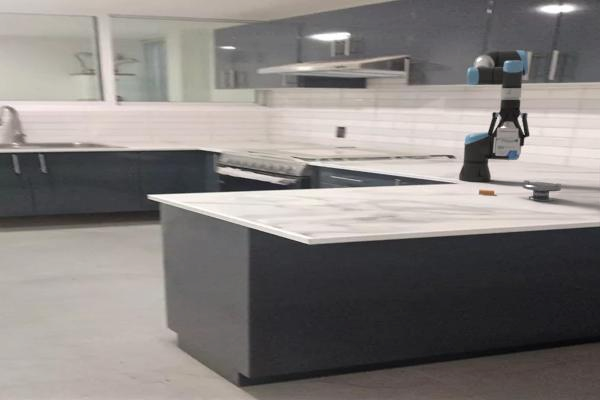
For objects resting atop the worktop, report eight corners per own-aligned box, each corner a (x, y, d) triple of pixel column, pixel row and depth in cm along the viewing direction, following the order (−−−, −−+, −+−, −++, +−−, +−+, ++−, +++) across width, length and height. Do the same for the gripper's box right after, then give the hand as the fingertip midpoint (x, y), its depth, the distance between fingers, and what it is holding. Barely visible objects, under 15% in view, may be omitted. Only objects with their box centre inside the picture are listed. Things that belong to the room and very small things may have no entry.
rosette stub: (517, 199, 216) (518, 182, 215) (527, 194, 227) (529, 178, 225) (554, 204, 207) (556, 186, 206) (563, 198, 218) (565, 181, 217)
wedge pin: (478, 195, 228) (479, 190, 227) (479, 194, 230) (479, 189, 230) (493, 196, 225) (494, 191, 225) (494, 195, 228) (494, 190, 227)
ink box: (517, 155, 226) (519, 127, 224) (516, 156, 222) (519, 128, 220) (496, 154, 230) (498, 127, 228) (495, 155, 225) (497, 127, 223)
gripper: (481, 98, 225) (477, 152, 230) (535, 99, 212) (531, 155, 216) (487, 98, 231) (484, 150, 235) (541, 99, 217) (536, 154, 222)
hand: (506, 153), depth 226 cm, fingers closed on ink box, 9 cm apart
